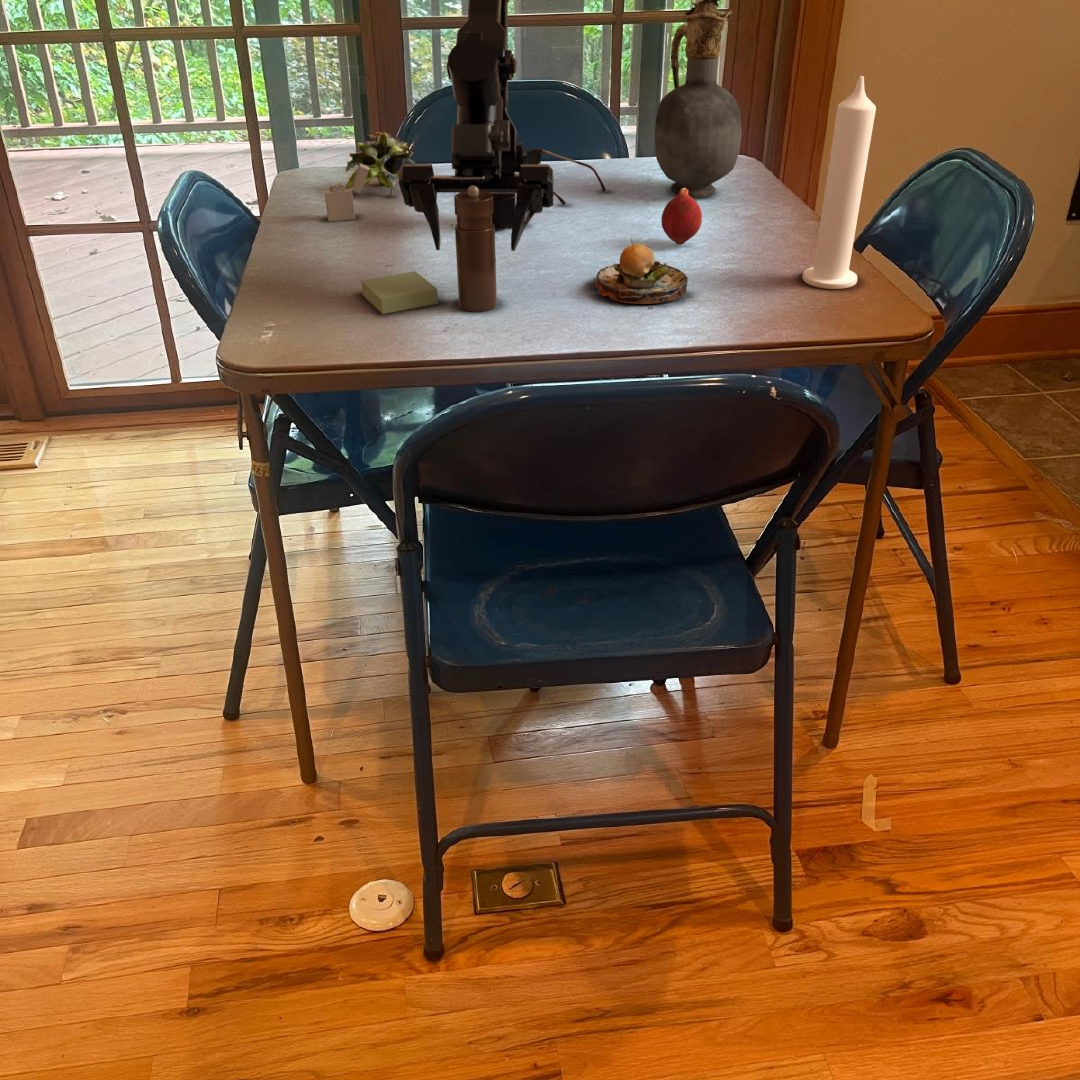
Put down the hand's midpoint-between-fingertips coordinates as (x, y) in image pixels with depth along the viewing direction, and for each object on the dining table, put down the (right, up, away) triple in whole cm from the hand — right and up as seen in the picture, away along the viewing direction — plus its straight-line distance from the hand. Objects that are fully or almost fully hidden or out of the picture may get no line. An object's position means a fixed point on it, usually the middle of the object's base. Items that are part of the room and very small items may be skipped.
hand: (475, 249), depth 122 cm
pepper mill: (0, -6, +4) cm, 7 cm away
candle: (+46, -1, +11) cm, 48 cm away
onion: (+28, +7, +24) cm, 38 cm away
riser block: (-10, -5, +6) cm, 13 cm away
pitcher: (+33, +24, +49) cm, 64 cm away
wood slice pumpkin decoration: (+21, -3, +9) cm, 23 cm away
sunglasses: (+10, +24, +49) cm, 55 cm away
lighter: (-22, +15, +36) cm, 45 cm away
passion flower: (-19, +24, +49) cm, 58 cm away
